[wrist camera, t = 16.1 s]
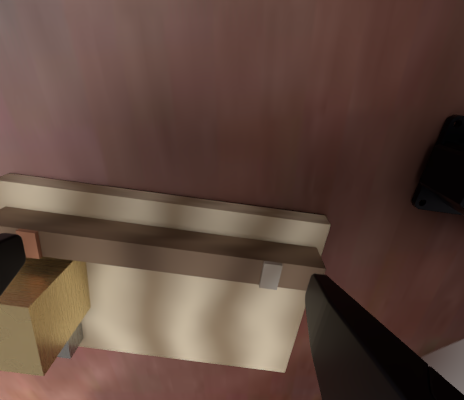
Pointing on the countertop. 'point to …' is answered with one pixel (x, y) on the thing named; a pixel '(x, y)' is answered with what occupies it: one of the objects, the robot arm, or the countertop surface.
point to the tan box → (42, 314)
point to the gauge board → (179, 295)
